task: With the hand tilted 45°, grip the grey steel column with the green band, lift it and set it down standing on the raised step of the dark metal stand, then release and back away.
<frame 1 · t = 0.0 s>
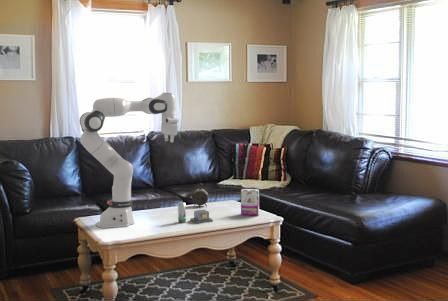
hand: (169, 141, 340), 48 cm above the table, tool pointing down, fingers open, 8 cm apart
column: (182, 222, 334), on the table
candy bar box: (250, 215, 353), on the table
stand: (201, 220, 337), on the table
alarm clock: (200, 206, 378), on the table
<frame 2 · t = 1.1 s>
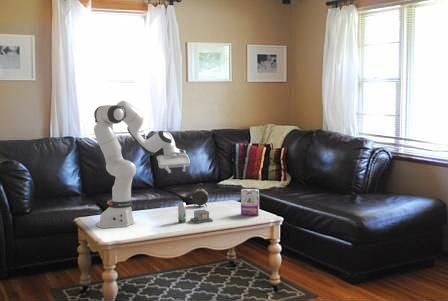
hand: (177, 171, 343), 29 cm above the table, tool tilted 45°, fingers open, 8 cm apart
nothing on the table moved.
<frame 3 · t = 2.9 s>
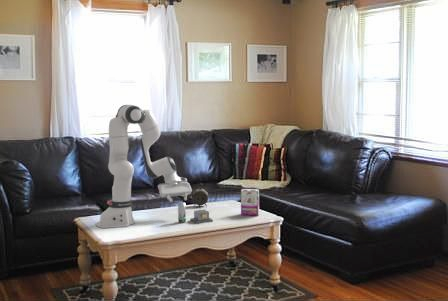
hand: (178, 200, 338), 12 cm above the table, tool tilted 45°, fingers open, 8 cm apart
nothing on the table moved.
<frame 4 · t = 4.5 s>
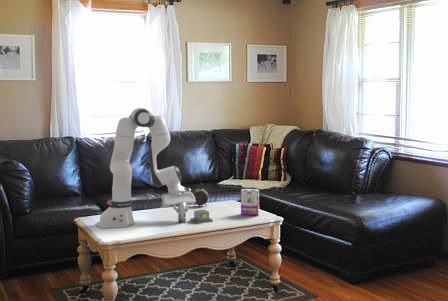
hand: (182, 211, 333), 7 cm above the table, tool tilted 45°, fingers closed on column, 4 cm apart
column: (182, 222, 334), on the table, touching gripper
everything else where it was.
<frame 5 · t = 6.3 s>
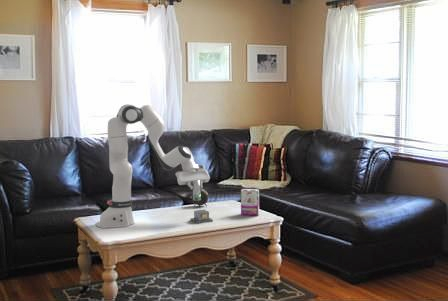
hand: (197, 188, 334), 21 cm above the table, tool tilted 45°, fingers closed on column, 4 cm apart
column: (197, 199, 335), point 13 cm above the table, touching gripper
everything else where it was.
when the fingers open (14 cm above the table, at t = 8.3 s): column stays where it is, resting on stand.
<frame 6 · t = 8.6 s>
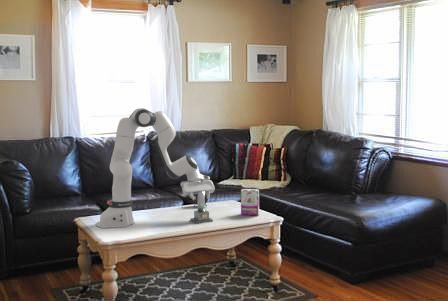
hand: (201, 198, 335), 14 cm above the table, tool tilted 45°, fingers open, 8 cm apart
column: (201, 211, 337), point 6 cm above the table, touching stand
everything else where it was.
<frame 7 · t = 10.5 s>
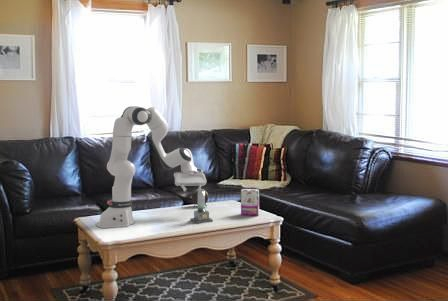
hand: (192, 191, 345), 17 cm above the table, tool tilted 40°, fingers open, 8 cm apart
nothing on the table moved.
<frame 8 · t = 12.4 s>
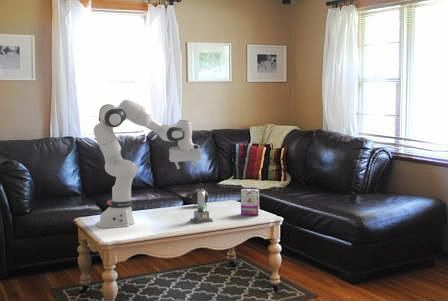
hand: (185, 168, 343), 31 cm above the table, tool pointing down, fingers open, 8 cm apart
nothing on the table moved.
at the end: column inside the target area on the stand (0.1 cm from its centre), point 6.0 cm above the stand's base; column tilted 1°; the gripper is holding nothing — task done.
